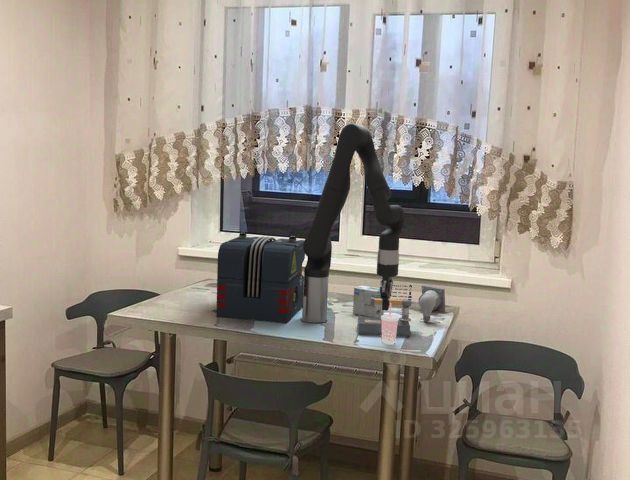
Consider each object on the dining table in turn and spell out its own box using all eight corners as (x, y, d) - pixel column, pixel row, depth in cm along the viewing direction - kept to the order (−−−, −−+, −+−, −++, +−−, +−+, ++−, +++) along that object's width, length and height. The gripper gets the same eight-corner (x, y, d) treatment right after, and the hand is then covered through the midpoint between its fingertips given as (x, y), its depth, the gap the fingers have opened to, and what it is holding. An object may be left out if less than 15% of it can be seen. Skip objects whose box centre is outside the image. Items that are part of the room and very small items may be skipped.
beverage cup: (396, 345, 227) (399, 305, 225) (378, 344, 228) (381, 303, 226) (397, 340, 233) (400, 301, 231) (380, 339, 234) (382, 299, 232)
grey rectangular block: (358, 334, 238) (359, 308, 237) (357, 327, 248) (358, 302, 247) (412, 337, 238) (413, 311, 237) (409, 329, 248) (410, 304, 247)
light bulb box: (383, 315, 268) (385, 288, 266) (375, 318, 262) (377, 291, 261) (360, 310, 274) (362, 284, 272) (352, 313, 268) (353, 287, 267)
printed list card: (443, 308, 285) (444, 285, 284) (447, 314, 274) (449, 290, 272) (380, 304, 286) (381, 282, 284) (381, 311, 274) (383, 287, 273)
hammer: (370, 305, 243) (371, 299, 242) (370, 303, 246) (370, 296, 246) (411, 307, 242) (411, 301, 242) (410, 305, 246) (410, 298, 246)
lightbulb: (426, 324, 255) (428, 296, 254) (415, 321, 260) (416, 293, 259) (437, 323, 259) (439, 295, 258) (426, 319, 264) (428, 291, 262)
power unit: (286, 323, 249) (289, 243, 245) (215, 317, 254) (217, 238, 250) (303, 307, 276) (306, 234, 272) (238, 301, 281) (240, 230, 277)
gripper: (380, 258, 244) (378, 305, 246) (373, 263, 231) (371, 313, 233) (401, 259, 241) (398, 307, 244) (395, 265, 229) (392, 315, 231)
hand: (385, 310), depth 239 cm, fingers closed
